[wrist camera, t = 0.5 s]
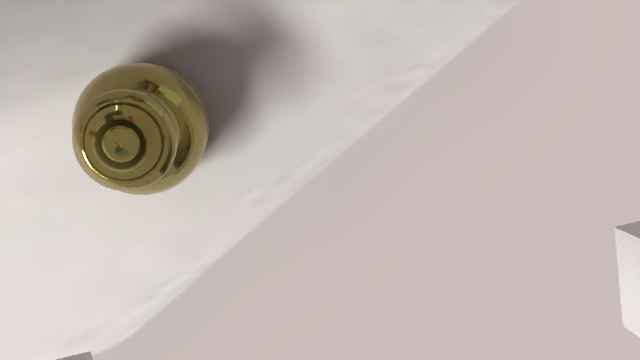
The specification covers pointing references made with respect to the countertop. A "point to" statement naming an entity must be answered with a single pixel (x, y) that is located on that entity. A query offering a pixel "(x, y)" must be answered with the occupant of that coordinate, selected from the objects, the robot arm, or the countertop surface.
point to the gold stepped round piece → (140, 128)
